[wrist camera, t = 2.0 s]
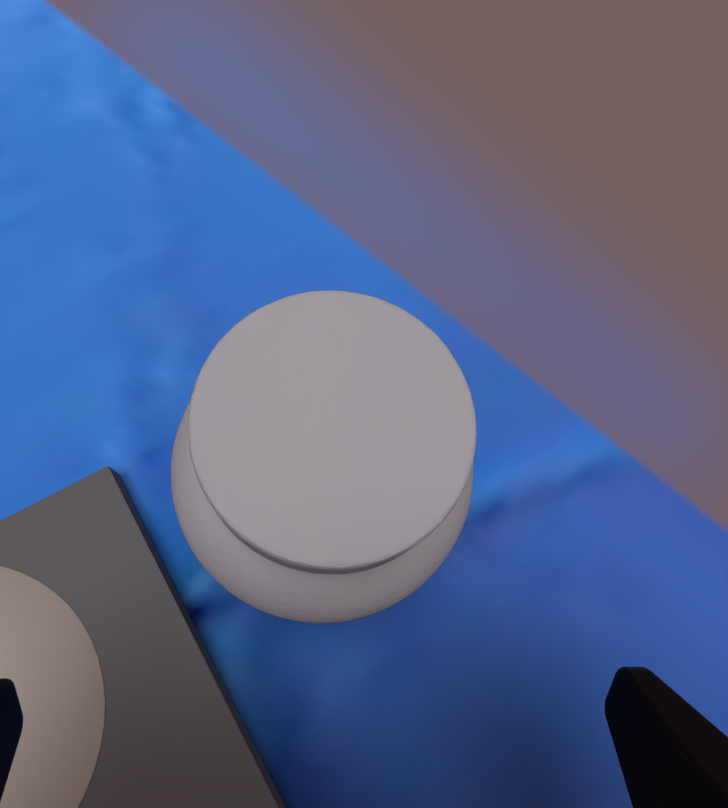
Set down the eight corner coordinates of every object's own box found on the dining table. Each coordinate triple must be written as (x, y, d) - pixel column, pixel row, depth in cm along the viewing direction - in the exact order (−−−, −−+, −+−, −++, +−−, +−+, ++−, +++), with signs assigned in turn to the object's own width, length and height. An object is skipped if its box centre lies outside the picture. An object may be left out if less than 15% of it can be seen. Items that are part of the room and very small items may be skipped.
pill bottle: (333, 389, 22) (374, 180, 11) (444, 533, 21) (613, 458, 10) (179, 494, 20) (43, 368, 9) (290, 657, 19) (288, 737, 8)
